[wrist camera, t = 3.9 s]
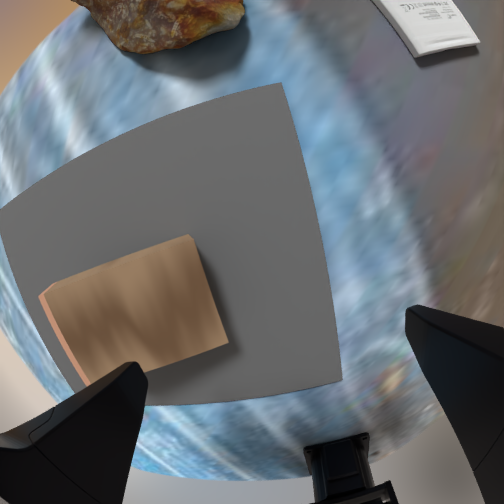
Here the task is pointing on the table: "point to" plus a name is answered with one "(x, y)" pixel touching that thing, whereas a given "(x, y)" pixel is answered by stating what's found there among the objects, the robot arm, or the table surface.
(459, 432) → the robot arm
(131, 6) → the decorative stone
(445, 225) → the table surface
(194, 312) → the walnut slab
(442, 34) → the external hard drive
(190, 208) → the rubber mat
